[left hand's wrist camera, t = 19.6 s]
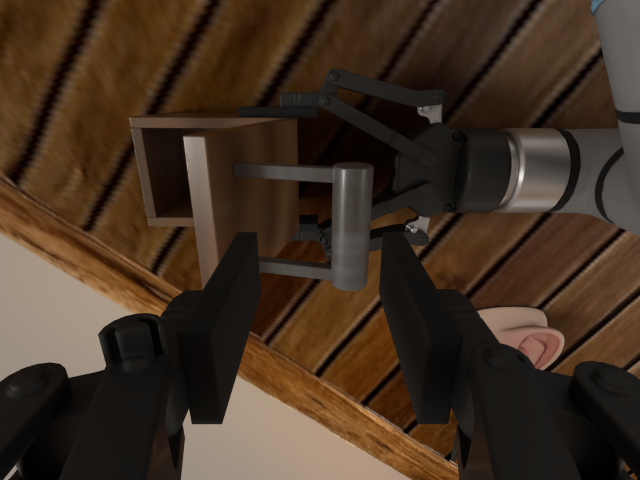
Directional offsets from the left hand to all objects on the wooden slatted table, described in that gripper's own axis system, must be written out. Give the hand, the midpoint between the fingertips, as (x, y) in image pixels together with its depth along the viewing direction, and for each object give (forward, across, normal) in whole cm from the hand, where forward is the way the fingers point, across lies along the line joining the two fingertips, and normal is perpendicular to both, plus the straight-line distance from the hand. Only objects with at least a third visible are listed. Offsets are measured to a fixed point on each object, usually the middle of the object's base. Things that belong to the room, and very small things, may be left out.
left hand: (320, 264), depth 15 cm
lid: (+10, -5, 0) cm, 11 cm away
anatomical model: (+27, +23, -24) cm, 42 cm away
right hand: (+20, -7, 0) cm, 21 cm away
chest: (+27, -9, 0) cm, 28 cm away
